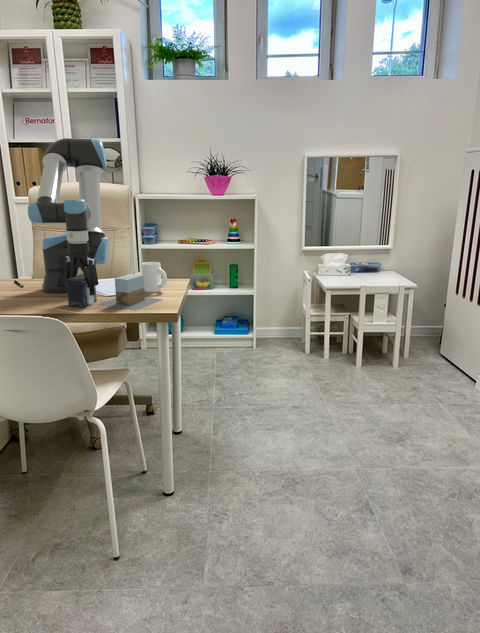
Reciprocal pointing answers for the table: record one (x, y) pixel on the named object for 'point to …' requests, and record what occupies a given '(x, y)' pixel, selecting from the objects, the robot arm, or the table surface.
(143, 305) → the mat
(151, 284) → the mug
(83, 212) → the robot arm
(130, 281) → the block top
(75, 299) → the small box
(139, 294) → the block bottom
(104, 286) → the table surface
